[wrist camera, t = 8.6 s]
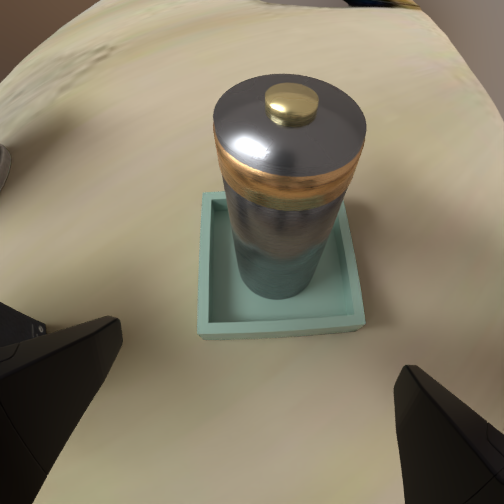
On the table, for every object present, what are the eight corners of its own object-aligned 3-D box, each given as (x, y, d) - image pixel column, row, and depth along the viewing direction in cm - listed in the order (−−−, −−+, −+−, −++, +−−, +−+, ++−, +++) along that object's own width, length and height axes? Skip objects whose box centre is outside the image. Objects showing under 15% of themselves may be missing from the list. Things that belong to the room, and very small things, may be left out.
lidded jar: (330, 278, 18) (404, 127, 8) (259, 314, 18) (256, 178, 7) (291, 217, 20) (312, 52, 10) (224, 247, 20) (187, 82, 9)
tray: (355, 331, 18) (365, 324, 16) (203, 339, 18) (197, 333, 16) (334, 204, 22) (340, 187, 20) (207, 209, 22) (202, 192, 20)
